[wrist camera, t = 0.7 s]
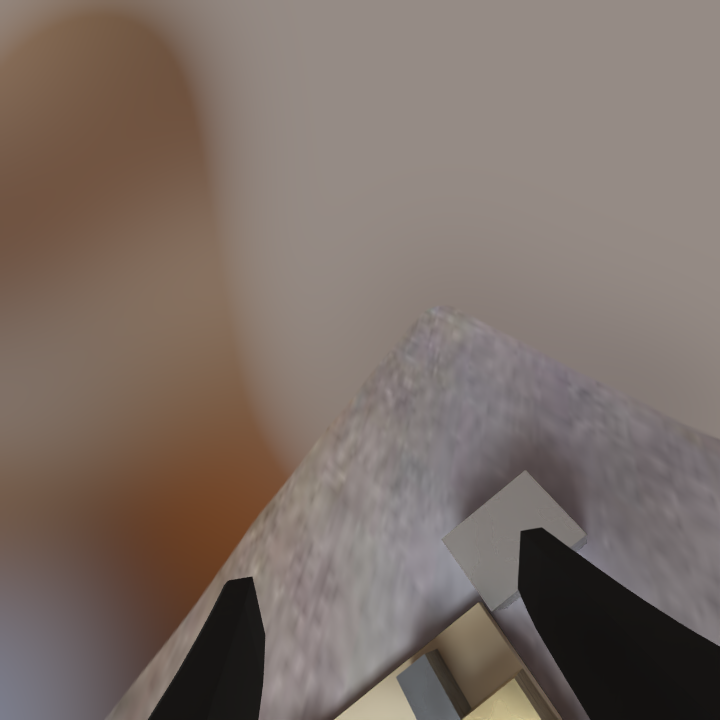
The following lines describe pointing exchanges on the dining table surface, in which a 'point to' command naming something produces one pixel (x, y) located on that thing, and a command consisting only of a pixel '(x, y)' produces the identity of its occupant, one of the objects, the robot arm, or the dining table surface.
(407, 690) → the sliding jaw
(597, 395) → the dining table surface
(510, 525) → the steel block
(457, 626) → the vise
